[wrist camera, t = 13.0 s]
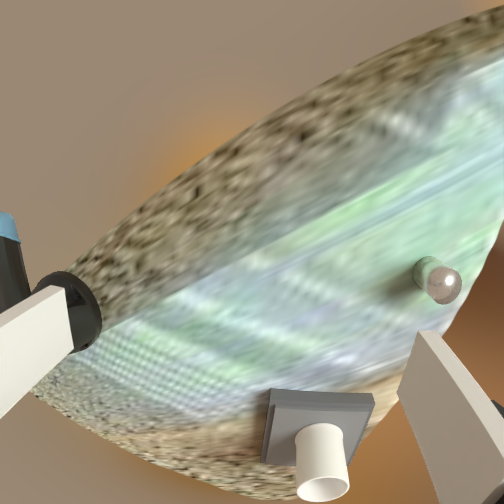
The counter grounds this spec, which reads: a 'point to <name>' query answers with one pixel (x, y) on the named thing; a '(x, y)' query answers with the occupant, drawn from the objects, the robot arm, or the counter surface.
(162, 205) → the counter surface
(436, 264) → the spice tin
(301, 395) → the podium
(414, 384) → the robot arm
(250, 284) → the counter surface
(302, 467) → the mug
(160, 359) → the counter surface
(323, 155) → the counter surface
